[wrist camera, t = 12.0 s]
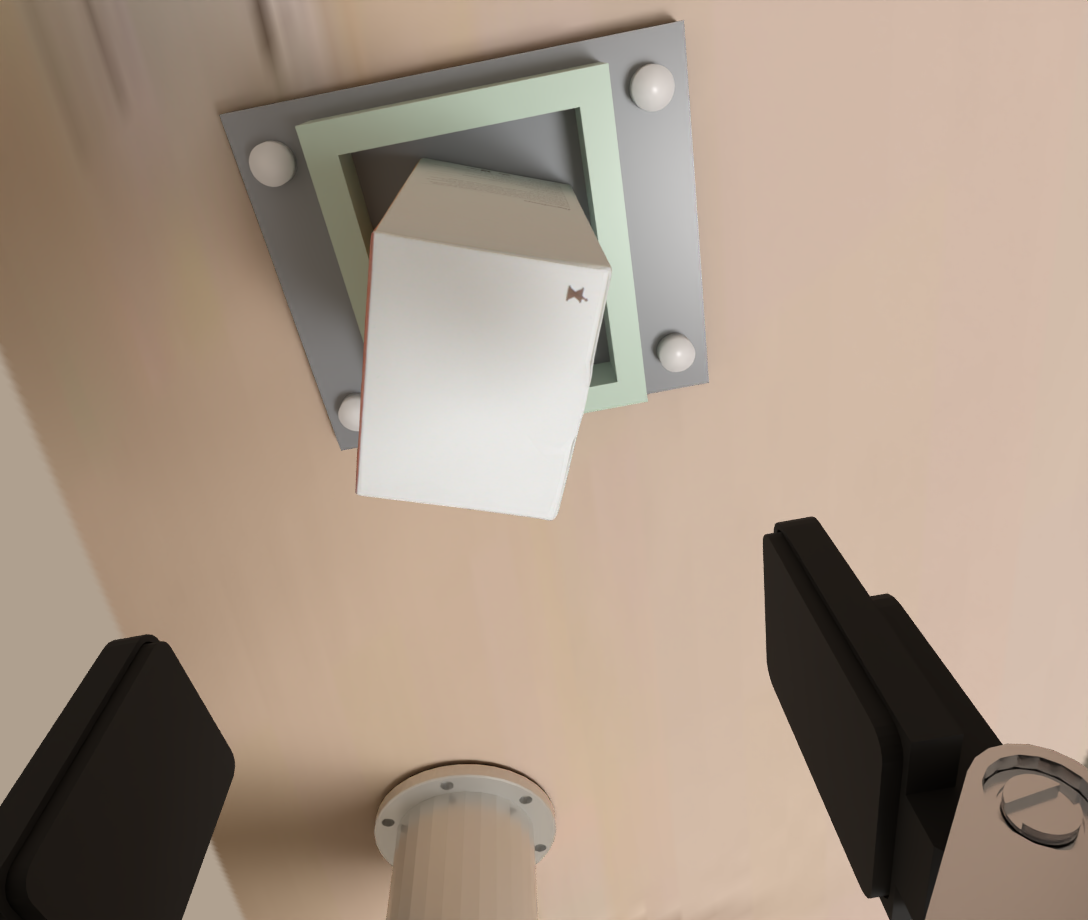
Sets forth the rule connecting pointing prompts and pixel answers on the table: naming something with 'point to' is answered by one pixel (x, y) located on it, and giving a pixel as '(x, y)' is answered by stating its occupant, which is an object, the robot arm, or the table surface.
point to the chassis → (503, 146)
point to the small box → (478, 341)
